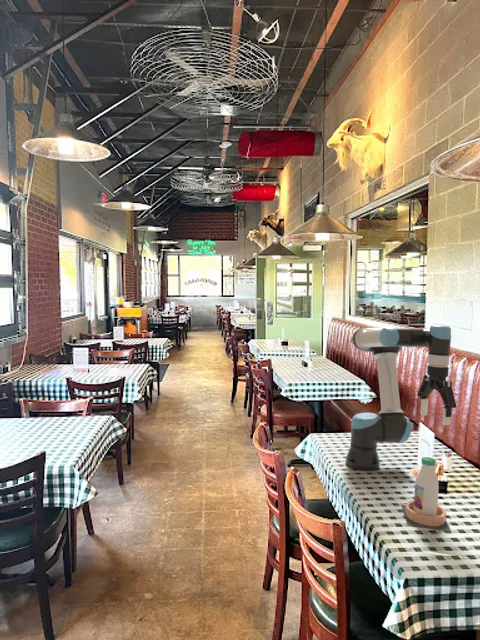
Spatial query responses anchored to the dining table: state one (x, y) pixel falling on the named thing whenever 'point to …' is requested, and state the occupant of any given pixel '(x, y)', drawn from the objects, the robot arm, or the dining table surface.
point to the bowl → (425, 520)
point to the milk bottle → (426, 489)
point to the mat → (413, 524)
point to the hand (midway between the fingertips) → (434, 420)
